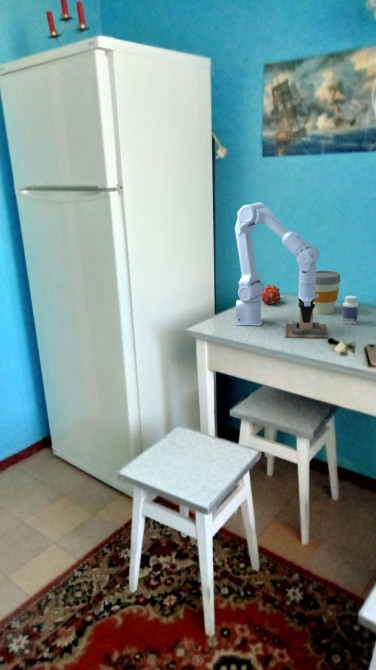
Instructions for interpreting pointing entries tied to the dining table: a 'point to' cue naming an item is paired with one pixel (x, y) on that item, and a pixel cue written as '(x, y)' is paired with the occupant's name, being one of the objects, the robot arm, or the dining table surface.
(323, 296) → the reusable coffee cup
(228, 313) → the dining table surface
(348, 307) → the pill bottle
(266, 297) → the dragon fruit
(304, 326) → the beige upright block
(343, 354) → the dining table surface
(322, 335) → the socket board
